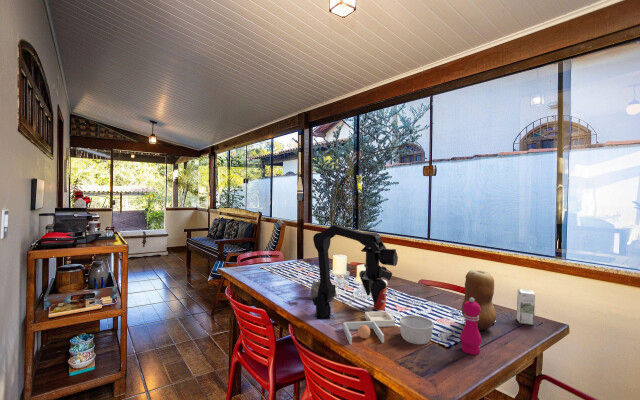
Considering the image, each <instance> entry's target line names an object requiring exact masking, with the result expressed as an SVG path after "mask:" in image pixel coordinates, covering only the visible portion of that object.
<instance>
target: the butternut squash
mask: <svg viewBox="0 0 640 400" xmlns="http://www.w3.org/2000/svg"><path fill="white" fill-rule="evenodd" d="M494 291H495V280H494V277H493V275H492V274H491V273H490V272H488V271H485V270H477V269H471V270H468V272H466V275H465V280H464V298H463V301H462V304H461V314H462V316H463V317H464V313H465V312H464V311H463V305H464V303H465V302H467V301H469V299H470V298H471V297H472V298H474V300H475V301H474V302H476V303H477V304H479V306H480V308H481V312H480V314H479V315H478V316H479V320H478V322H477V326H478V330H479V331H484V330H487V329H489V328H490V327H492V326H493V325H494V323H495V322H496V318H497V313H496V309H495V307H494V304H493V297H494V293H495V292H494Z"/></svg>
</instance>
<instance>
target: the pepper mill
mask: <svg viewBox="0 0 640 400" xmlns="http://www.w3.org/2000/svg"><path fill="white" fill-rule="evenodd" d="M474 301H475V300H474V298H472V297H471V298H470V299H469V301H467V302H465V303H464V305H463V311H464V312H465V313H464V316H463V317H464V327H463V328H462V330H461V332H460V335H459V337H460V338H459V339H460V341H461V350H462V352H464V353H466V354H469V355H478V354H480V352H481V347H480V346H481V344H482V343H483V342H482V341H483V340H482V335H481V333H480V330H478V326H477V322H478V320H479V316H478V315H479V314H480V312H481V308H480V306H479V304H477V303H476V302H474Z"/></svg>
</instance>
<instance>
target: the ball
mask: <svg viewBox="0 0 640 400" xmlns="http://www.w3.org/2000/svg"><path fill="white" fill-rule="evenodd" d="M357 334H358V336H359V338H361V339H367V338H369V337H370V336H371V329H369V327H368V326H366V325H362V326H360V327H359V328H358V329H357Z"/></svg>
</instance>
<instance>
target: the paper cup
mask: <svg viewBox="0 0 640 400" xmlns="http://www.w3.org/2000/svg"><path fill="white" fill-rule="evenodd" d="M382 280H383V281H384V282H385V283H386V288H385V289H384V290H382V291H381V292H380V294H379V297H378V300H377V303H374V302H373V309H374V310H376V311H386V301H387V293H388V291H387V290H388V289H387V288H388V280H387V279H382Z"/></svg>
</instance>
